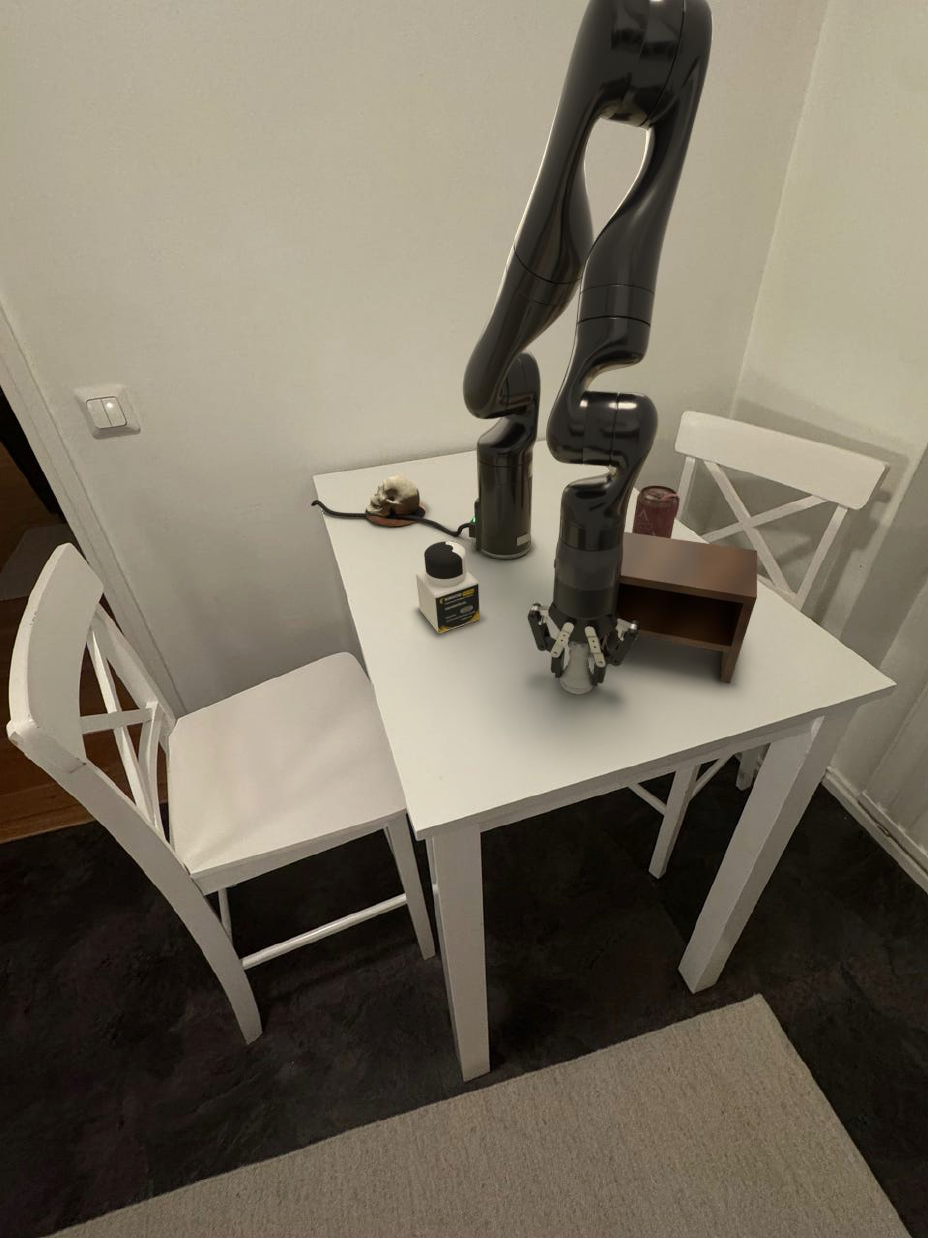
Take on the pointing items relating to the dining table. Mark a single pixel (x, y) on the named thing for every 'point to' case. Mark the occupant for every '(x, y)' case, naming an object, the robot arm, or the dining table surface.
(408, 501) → the skull
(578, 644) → the rook chess piece
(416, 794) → the dining table surface
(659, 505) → the can
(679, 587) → the shelf
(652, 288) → the robot arm
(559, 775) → the dining table surface
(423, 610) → the medicine bottle
